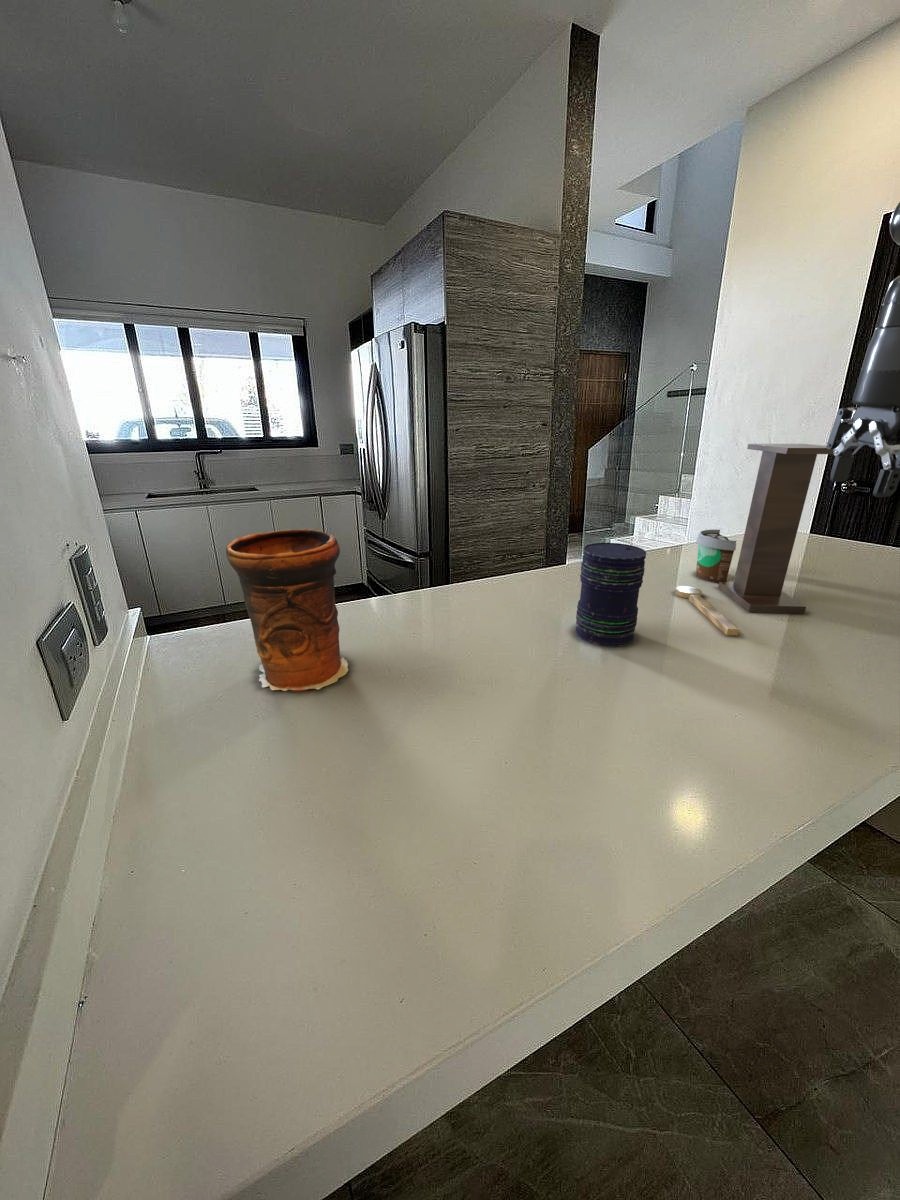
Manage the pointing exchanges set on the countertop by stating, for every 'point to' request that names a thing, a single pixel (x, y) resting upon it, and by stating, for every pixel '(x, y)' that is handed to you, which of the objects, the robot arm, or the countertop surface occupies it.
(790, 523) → the brown pedestal stand
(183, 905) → the countertop surface
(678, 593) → the wooden spoon
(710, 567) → the food container
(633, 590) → the storage jar
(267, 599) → the vessel
